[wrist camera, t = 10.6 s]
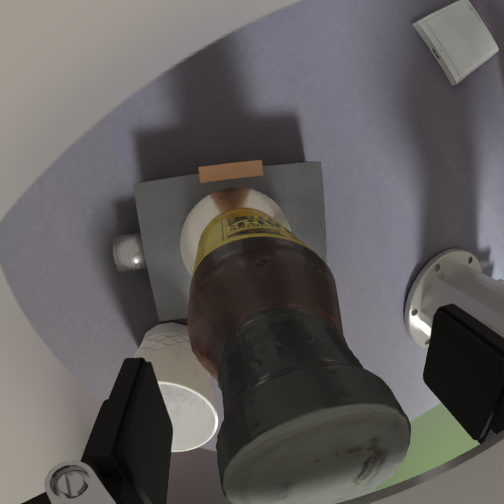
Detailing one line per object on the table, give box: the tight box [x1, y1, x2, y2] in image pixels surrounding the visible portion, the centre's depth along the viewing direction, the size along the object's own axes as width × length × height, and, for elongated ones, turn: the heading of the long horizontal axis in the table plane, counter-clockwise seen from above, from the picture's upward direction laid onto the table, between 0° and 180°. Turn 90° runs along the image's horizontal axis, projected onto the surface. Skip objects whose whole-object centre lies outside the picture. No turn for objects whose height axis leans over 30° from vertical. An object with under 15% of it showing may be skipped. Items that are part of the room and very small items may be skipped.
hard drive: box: [412, 0, 499, 86], centre depth 25 cm, size 2×8×12 cm
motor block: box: [113, 160, 327, 321], centre depth 25 cm, size 17×12×7 cm
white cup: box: [133, 322, 218, 452], centre depth 26 cm, size 8×8×10 cm
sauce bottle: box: [187, 207, 411, 504], centre depth 15 cm, size 7×6×20 cm
